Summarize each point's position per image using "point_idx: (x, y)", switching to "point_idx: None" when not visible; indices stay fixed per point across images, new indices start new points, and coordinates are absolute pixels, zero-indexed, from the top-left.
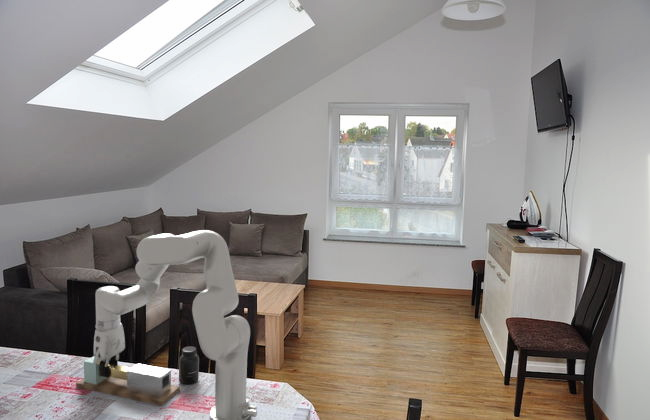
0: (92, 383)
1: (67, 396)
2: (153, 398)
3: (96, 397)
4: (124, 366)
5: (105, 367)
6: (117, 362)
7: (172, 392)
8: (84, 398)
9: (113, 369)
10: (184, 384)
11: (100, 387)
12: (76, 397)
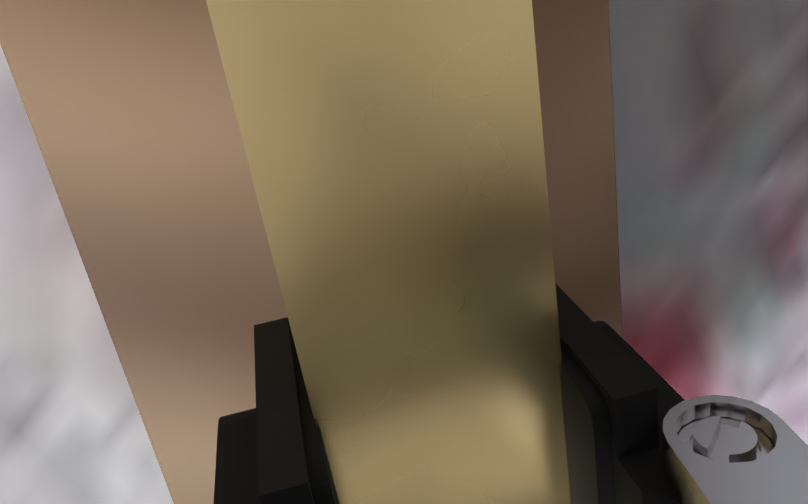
0: None
1: (789, 422)
2: None
3: (703, 116)
4: (247, 117)
5: (686, 420)
6: (260, 467)
7: None
8: (770, 228)
9: (548, 241)
10: None
11: (598, 233)
12: (778, 327)
